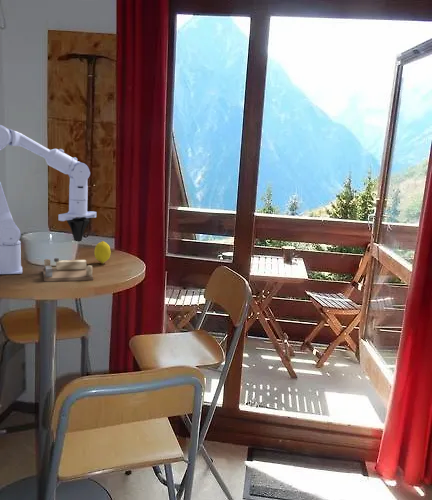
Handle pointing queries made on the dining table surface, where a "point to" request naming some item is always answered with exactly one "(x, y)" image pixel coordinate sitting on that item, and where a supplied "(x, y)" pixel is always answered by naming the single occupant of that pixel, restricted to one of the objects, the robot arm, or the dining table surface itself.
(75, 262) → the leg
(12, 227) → the robot arm
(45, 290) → the dining table surface
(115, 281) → the dining table surface
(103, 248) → the lemon
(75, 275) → the board
